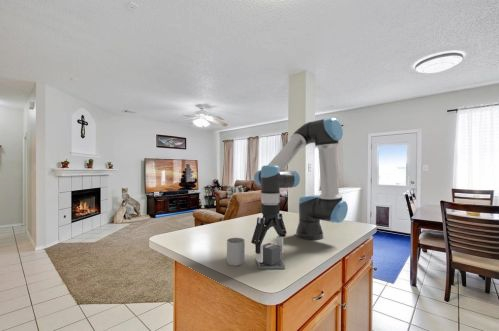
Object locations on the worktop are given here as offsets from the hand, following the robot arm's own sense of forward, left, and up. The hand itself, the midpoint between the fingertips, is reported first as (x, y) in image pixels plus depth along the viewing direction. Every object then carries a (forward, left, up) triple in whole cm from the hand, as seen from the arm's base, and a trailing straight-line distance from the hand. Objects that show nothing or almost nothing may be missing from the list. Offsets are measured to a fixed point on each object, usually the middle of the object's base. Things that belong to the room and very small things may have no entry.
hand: (270, 256), depth 91 cm
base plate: (0, 0, -3) cm, 3 cm away
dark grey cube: (0, 0, -2) cm, 2 cm away
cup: (+14, -3, -3) cm, 15 cm away
